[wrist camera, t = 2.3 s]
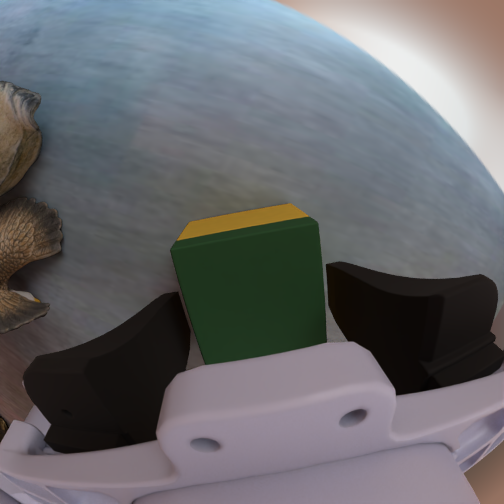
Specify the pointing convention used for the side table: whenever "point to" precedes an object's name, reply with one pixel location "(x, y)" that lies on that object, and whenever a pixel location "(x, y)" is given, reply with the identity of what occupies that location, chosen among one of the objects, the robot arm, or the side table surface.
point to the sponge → (252, 283)
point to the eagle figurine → (24, 256)
